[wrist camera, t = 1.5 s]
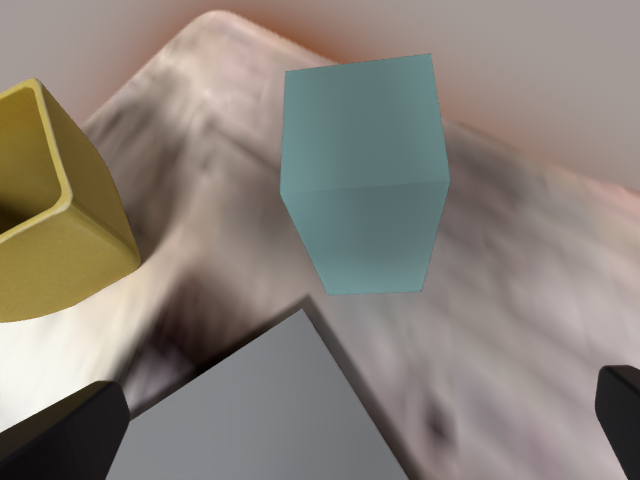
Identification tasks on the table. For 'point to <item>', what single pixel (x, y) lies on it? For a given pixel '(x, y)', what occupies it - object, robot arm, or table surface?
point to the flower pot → (54, 210)
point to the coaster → (261, 420)
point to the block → (365, 171)
